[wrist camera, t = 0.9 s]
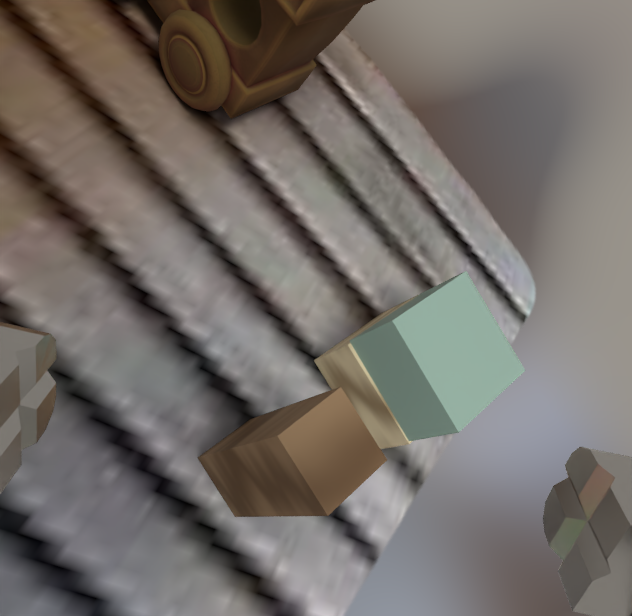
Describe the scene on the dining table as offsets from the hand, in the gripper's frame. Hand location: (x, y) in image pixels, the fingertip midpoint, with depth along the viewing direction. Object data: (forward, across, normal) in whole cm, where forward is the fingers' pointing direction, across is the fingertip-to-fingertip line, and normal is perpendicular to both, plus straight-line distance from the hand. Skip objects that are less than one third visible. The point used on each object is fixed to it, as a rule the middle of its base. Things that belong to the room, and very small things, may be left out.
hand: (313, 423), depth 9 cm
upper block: (+29, -9, +16) cm, 34 cm away
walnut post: (+22, +1, +23) cm, 32 cm away
